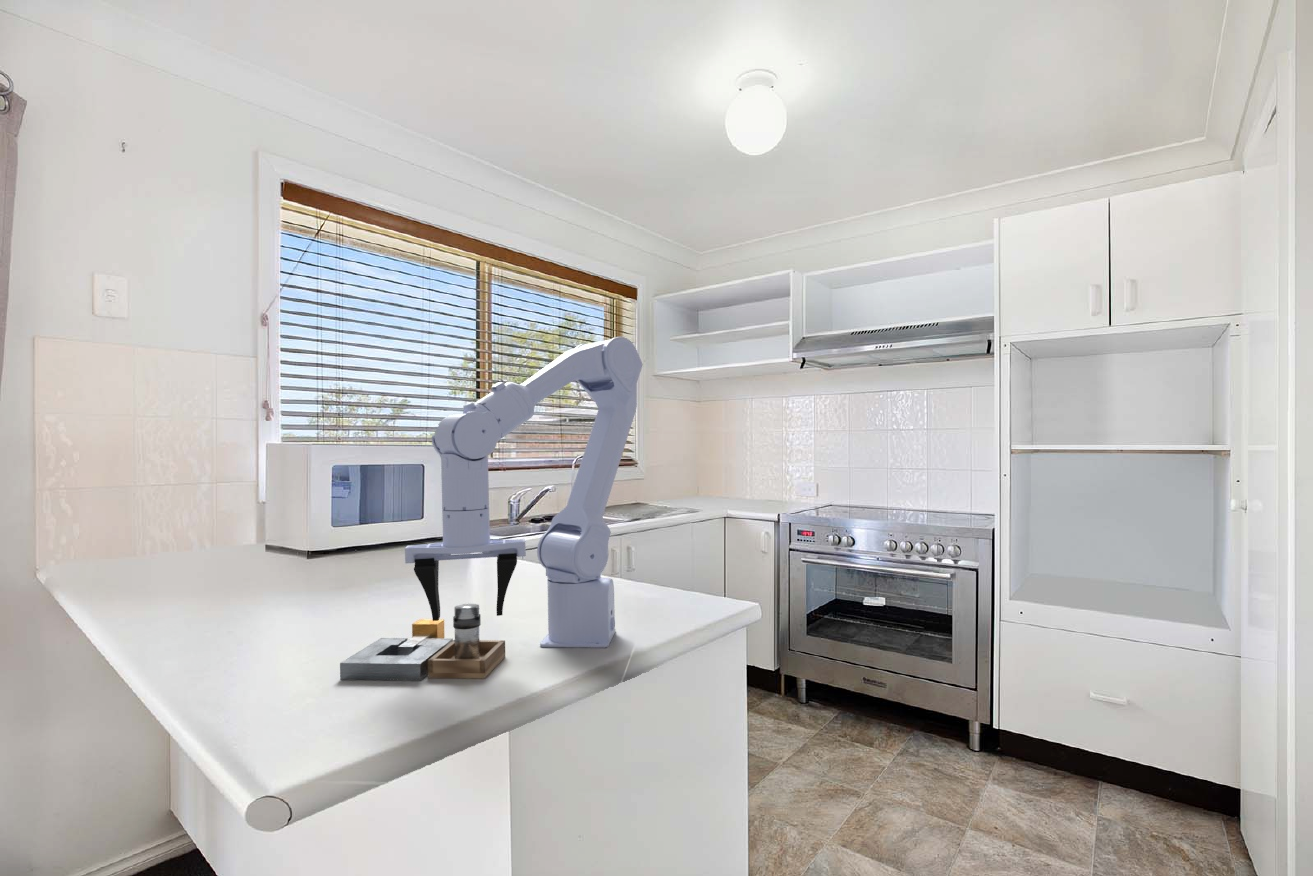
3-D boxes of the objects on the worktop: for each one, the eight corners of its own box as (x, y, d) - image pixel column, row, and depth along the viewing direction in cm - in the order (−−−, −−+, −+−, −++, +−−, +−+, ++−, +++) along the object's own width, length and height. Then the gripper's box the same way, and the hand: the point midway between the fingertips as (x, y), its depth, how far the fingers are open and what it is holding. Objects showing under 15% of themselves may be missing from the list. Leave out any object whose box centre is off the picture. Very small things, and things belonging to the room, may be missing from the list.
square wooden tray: (505, 656, 87) (505, 640, 87) (484, 678, 79) (484, 661, 79) (453, 656, 88) (453, 640, 88) (428, 677, 80) (427, 660, 80)
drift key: (420, 641, 94) (419, 619, 94) (444, 642, 94) (444, 619, 94) (392, 661, 86) (392, 636, 86) (419, 661, 86) (418, 636, 86)
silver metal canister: (481, 656, 85) (480, 602, 85) (480, 665, 82) (479, 609, 82) (454, 658, 84) (454, 604, 84) (452, 667, 81) (452, 610, 81)
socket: (381, 652, 89) (381, 637, 89) (453, 653, 89) (452, 638, 89) (340, 679, 79) (339, 663, 79) (420, 680, 79) (420, 663, 79)
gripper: (523, 503, 89) (525, 603, 89) (409, 508, 86) (412, 612, 86) (525, 508, 82) (527, 617, 82) (401, 514, 79) (403, 627, 79)
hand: (468, 616), depth 83 cm, fingers open, 7 cm apart
